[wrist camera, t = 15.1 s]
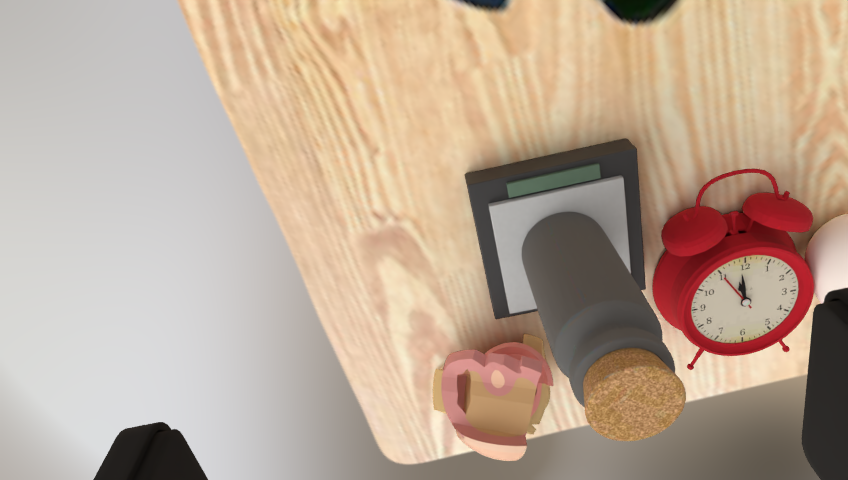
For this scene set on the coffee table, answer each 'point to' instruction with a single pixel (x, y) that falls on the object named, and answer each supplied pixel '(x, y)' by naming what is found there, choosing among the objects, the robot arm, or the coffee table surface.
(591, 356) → the bottle
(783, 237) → the alarm clock
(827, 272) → the egg
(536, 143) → the coffee table surface
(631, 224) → the scale
